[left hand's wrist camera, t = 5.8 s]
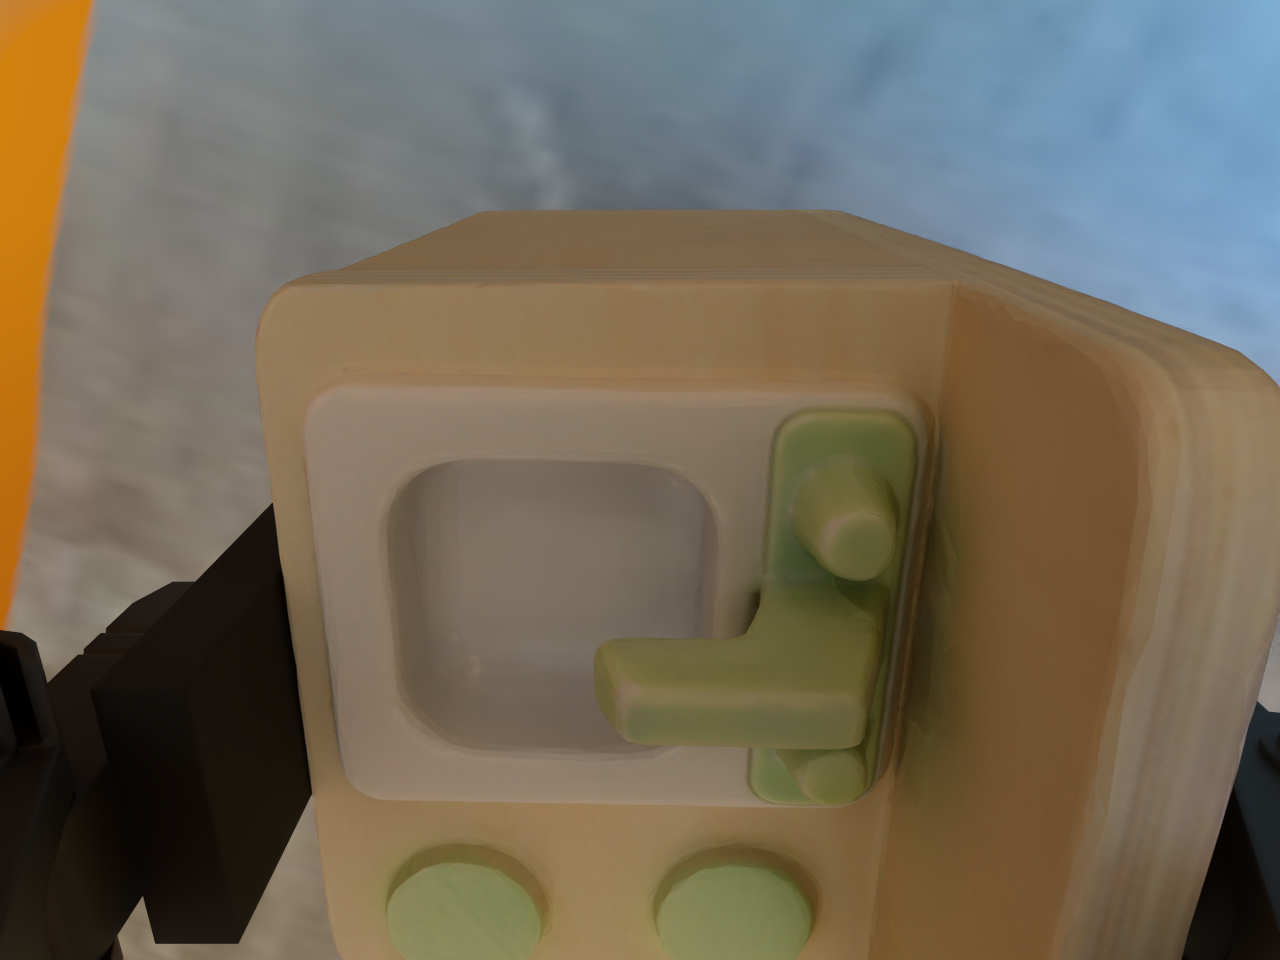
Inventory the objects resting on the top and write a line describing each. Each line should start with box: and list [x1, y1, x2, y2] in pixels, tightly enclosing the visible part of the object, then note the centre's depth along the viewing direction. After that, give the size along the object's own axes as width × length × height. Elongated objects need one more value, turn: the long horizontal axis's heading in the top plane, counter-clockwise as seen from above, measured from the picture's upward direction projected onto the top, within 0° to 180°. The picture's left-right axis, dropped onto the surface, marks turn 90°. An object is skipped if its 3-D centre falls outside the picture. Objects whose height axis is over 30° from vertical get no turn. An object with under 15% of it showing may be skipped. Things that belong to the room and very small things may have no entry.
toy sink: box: [255, 209, 1280, 960], centre depth 12 cm, size 8×7×13 cm
